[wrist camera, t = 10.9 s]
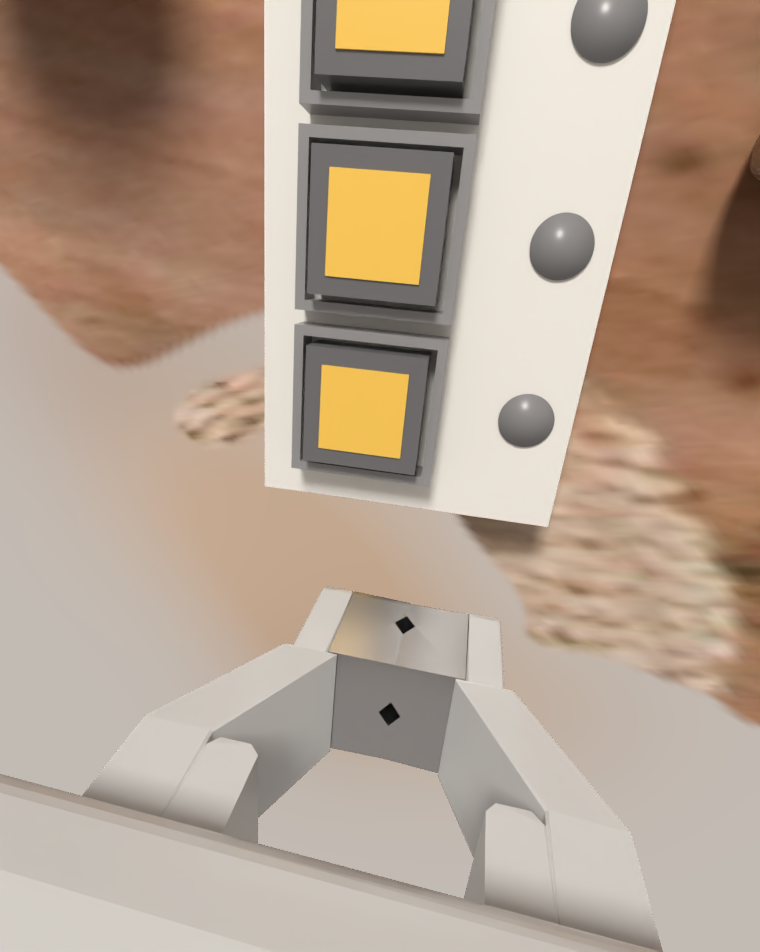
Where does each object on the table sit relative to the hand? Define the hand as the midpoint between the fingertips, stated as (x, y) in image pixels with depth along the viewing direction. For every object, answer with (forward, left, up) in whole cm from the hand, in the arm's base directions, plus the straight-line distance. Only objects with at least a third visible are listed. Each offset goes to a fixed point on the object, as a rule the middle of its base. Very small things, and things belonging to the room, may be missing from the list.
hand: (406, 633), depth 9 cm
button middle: (+3, -7, -15) cm, 17 cm away
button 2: (+3, 0, -15) cm, 16 cm away
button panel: (+1, -7, -18) cm, 20 cm away
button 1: (+3, -14, -15) cm, 21 cm away
